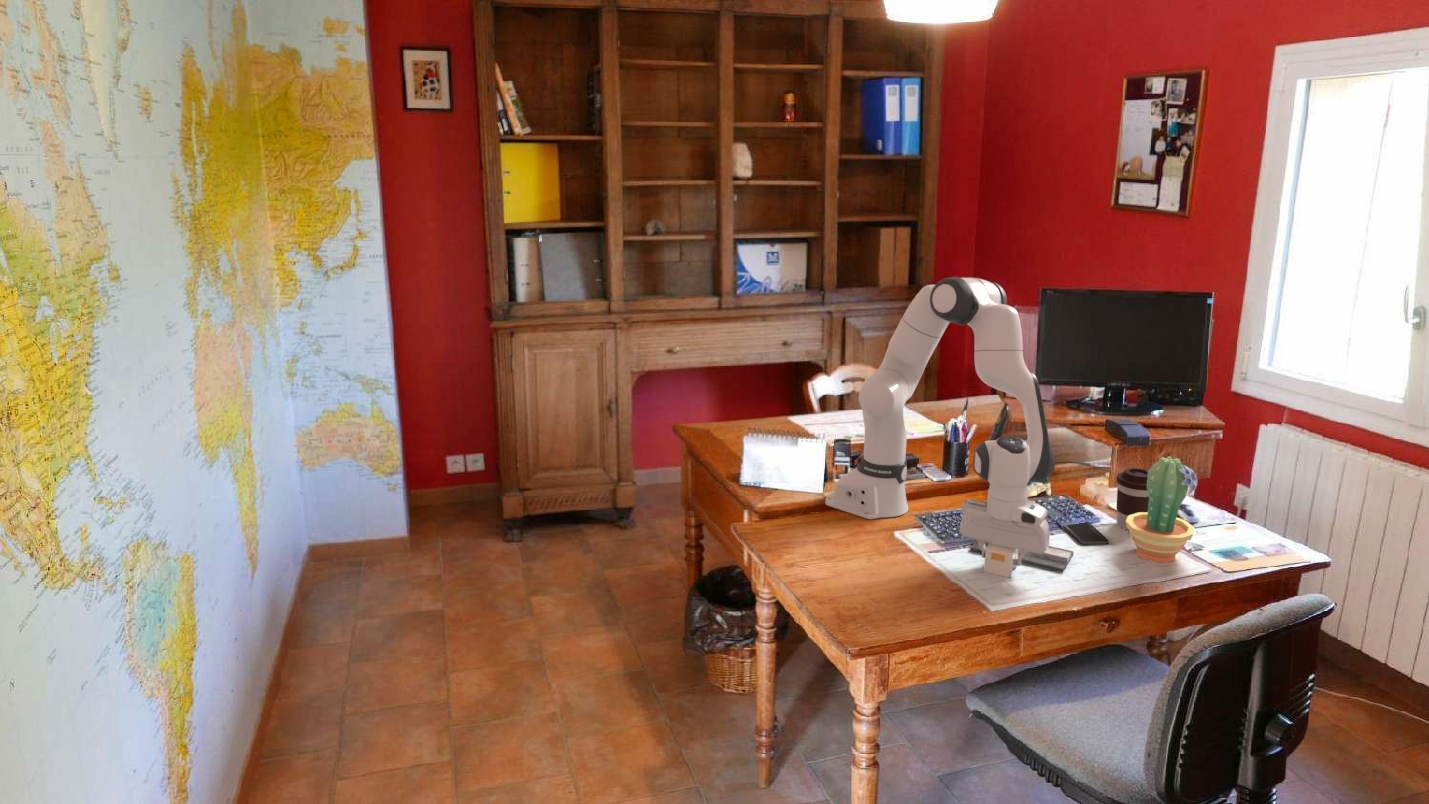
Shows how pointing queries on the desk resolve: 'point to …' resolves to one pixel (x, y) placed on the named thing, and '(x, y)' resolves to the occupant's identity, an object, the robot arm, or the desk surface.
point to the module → (1000, 559)
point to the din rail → (1041, 557)
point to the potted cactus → (1163, 512)
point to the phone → (1086, 534)
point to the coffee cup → (1131, 494)
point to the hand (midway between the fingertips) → (1001, 561)
